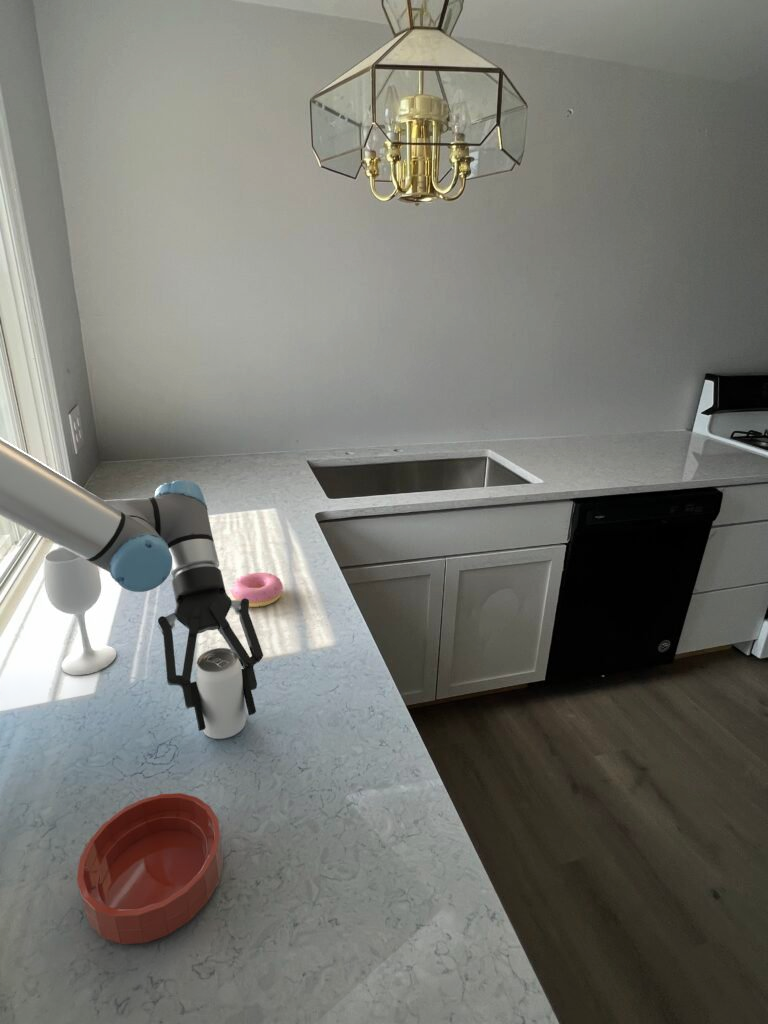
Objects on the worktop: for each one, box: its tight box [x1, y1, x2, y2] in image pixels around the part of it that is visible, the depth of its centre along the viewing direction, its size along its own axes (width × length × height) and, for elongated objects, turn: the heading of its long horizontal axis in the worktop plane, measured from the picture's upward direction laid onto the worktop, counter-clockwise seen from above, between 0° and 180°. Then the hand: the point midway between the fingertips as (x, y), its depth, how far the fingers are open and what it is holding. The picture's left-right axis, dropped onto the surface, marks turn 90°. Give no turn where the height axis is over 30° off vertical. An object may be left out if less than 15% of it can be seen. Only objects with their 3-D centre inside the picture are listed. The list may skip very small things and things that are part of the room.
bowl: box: [76, 792, 224, 945], centre depth 61 cm, size 14×14×5 cm
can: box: [194, 647, 247, 740], centre depth 82 cm, size 6×6×12 cm
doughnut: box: [230, 572, 284, 608], centre depth 120 cm, size 11×11×4 cm
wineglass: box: [43, 546, 117, 676], centre depth 95 cm, size 9×9×21 cm
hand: (227, 721), depth 80 cm, fingers closed on can, 6 cm apart
